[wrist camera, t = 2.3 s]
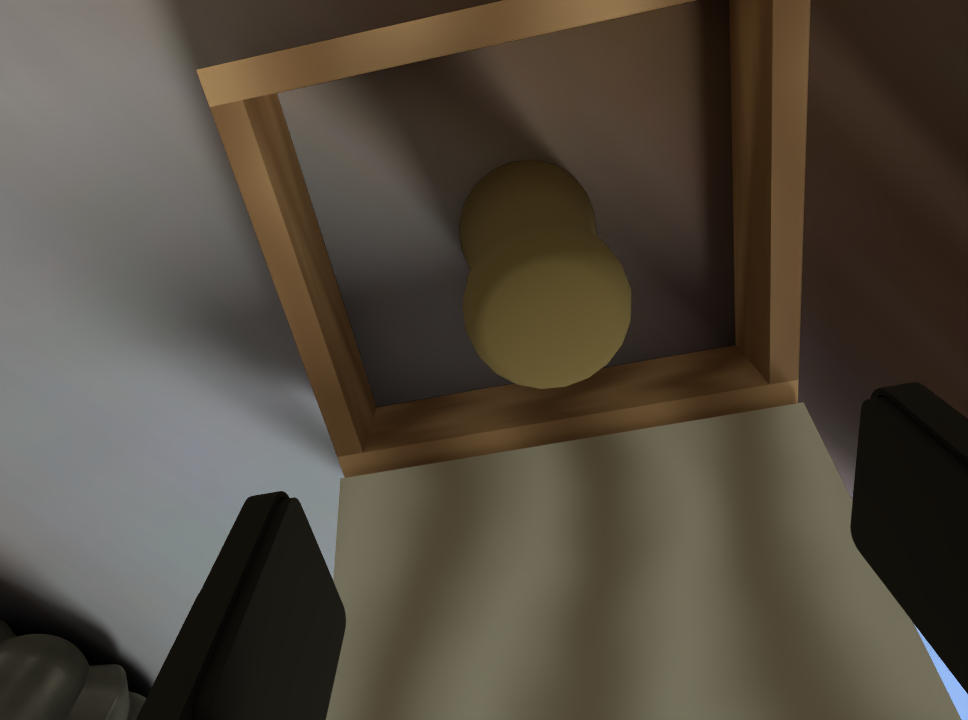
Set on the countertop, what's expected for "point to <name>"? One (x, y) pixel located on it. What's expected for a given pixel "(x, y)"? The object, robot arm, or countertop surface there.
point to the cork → (540, 278)
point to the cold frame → (589, 456)
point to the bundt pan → (59, 682)
